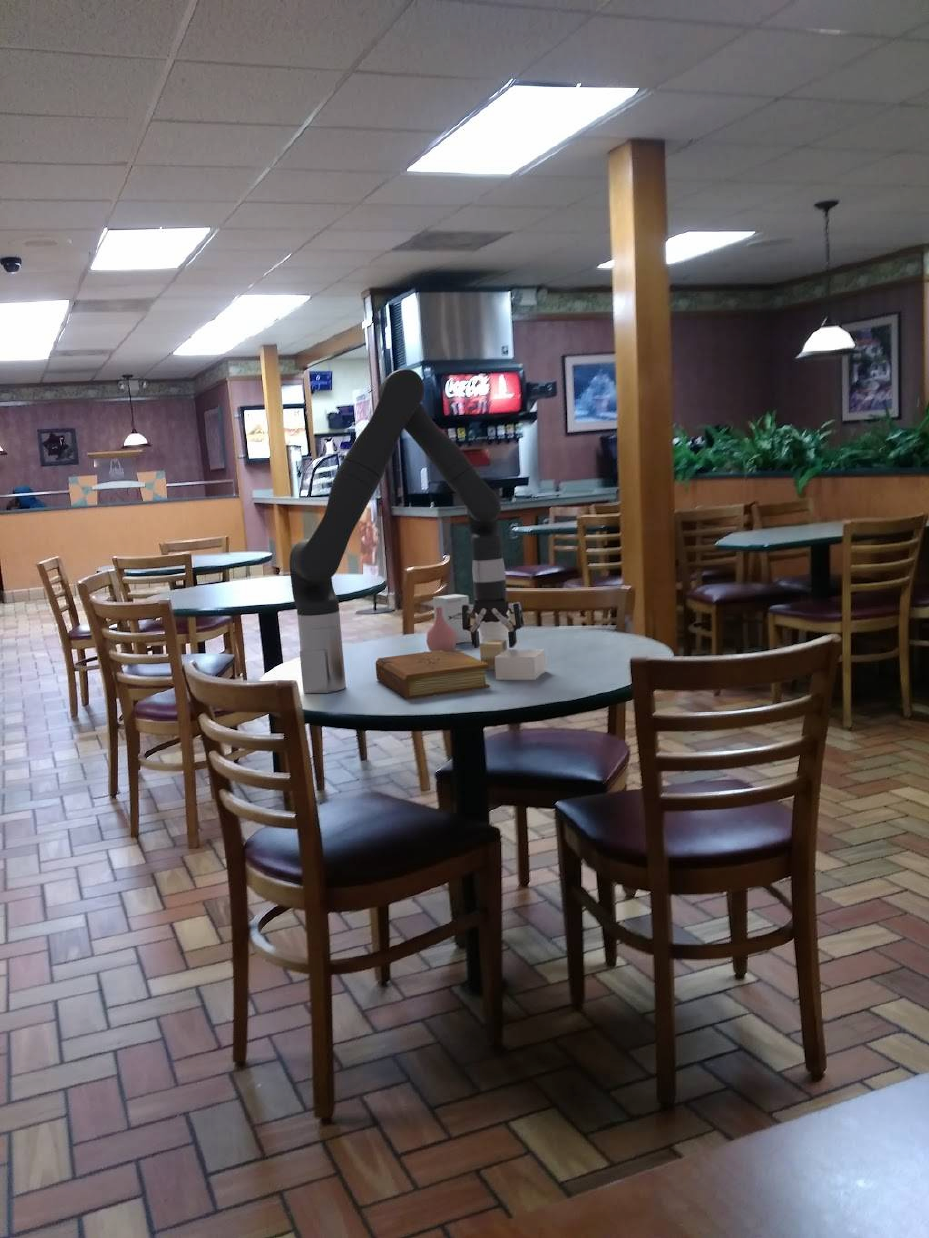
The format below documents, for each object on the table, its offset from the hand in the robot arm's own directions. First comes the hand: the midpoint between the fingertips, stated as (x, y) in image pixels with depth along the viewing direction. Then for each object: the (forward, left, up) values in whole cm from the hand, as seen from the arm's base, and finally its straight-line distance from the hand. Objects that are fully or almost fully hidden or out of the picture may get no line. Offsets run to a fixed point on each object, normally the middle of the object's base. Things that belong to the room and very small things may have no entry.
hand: (494, 647), depth 238 cm
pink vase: (+16, +19, -5) cm, 25 cm away
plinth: (-9, -9, -5) cm, 14 cm away
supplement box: (+33, +22, -5) cm, 40 cm away
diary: (-18, +9, -5) cm, 21 cm away
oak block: (0, 0, -5) cm, 5 cm away
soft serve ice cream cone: (+10, +3, -5) cm, 11 cm away
